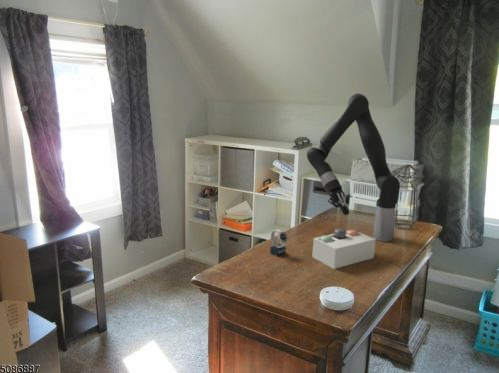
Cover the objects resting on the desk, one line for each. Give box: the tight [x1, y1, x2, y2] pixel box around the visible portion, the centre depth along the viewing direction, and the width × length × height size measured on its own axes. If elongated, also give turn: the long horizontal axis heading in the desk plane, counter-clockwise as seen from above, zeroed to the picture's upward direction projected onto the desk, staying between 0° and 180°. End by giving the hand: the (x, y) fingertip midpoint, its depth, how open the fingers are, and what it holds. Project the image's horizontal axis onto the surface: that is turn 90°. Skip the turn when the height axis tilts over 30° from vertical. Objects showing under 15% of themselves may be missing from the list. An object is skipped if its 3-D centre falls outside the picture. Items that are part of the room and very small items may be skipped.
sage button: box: [320, 234, 332, 243], centre depth 182 cm, size 5×5×4 cm
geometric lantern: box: [390, 164, 426, 230], centre depth 227 cm, size 16×16×35 cm
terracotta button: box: [346, 229, 359, 237], centre depth 190 cm, size 5×5×4 cm
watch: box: [269, 229, 288, 257], centre depth 187 cm, size 6×8×11 cm
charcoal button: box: [333, 227, 347, 240], centre depth 186 cm, size 5×5×4 cm
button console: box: [311, 230, 377, 270], centre depth 185 cm, size 24×14×9 cm, turn 122°
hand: (347, 214), depth 192 cm, fingers closed
